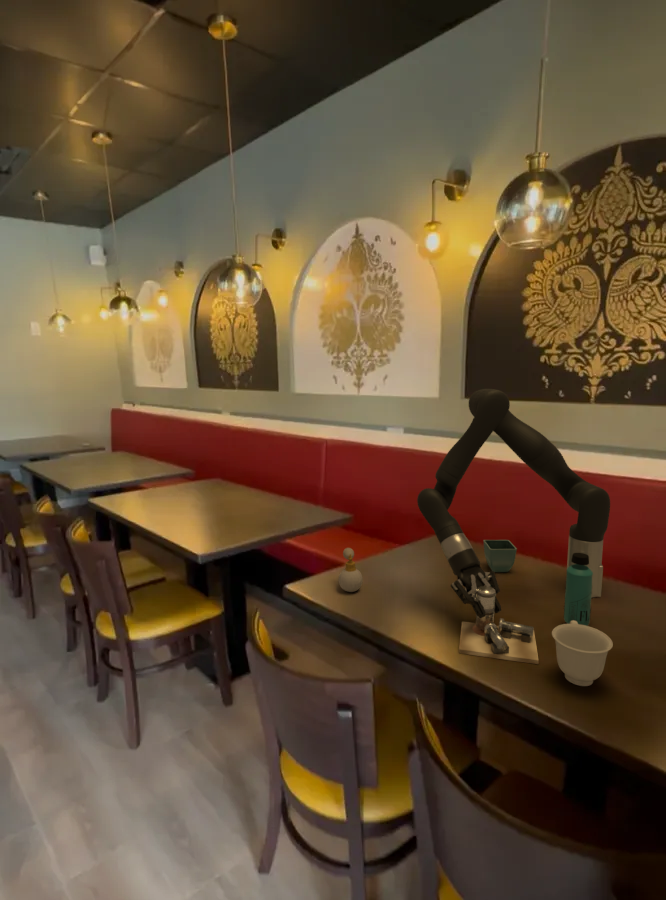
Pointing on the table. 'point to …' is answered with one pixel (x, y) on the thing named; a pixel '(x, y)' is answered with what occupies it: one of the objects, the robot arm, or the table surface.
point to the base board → (476, 645)
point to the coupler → (486, 605)
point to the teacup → (581, 652)
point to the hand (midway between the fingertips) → (490, 614)
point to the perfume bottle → (350, 573)
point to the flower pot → (499, 554)
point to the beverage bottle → (578, 590)
